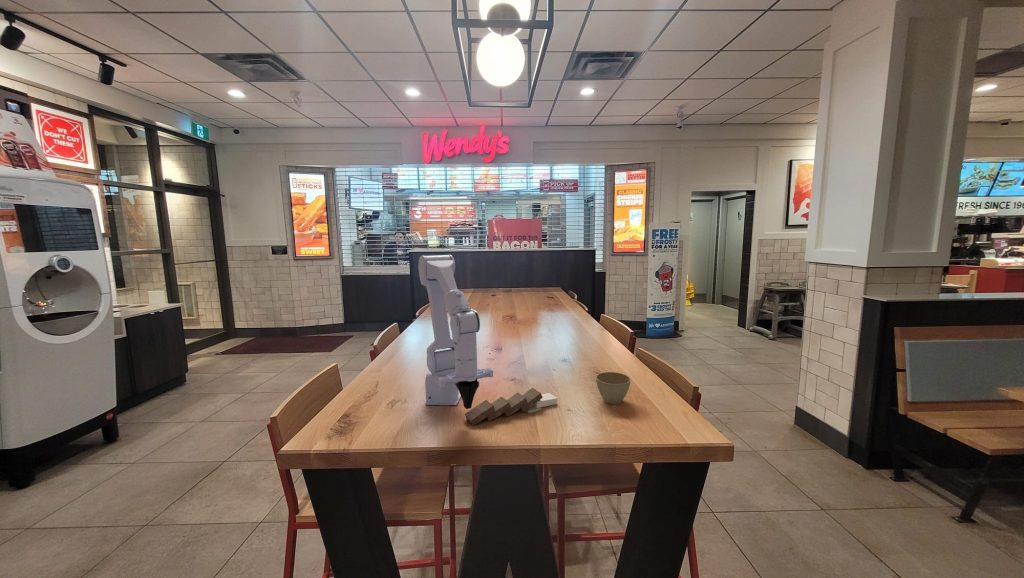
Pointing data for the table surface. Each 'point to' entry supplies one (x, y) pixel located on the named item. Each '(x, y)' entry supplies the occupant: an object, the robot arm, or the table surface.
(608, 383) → the flower pot
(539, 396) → the domino
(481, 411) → the domino
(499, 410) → the domino
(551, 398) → the domino
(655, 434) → the table surface
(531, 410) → the pad
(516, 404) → the domino
